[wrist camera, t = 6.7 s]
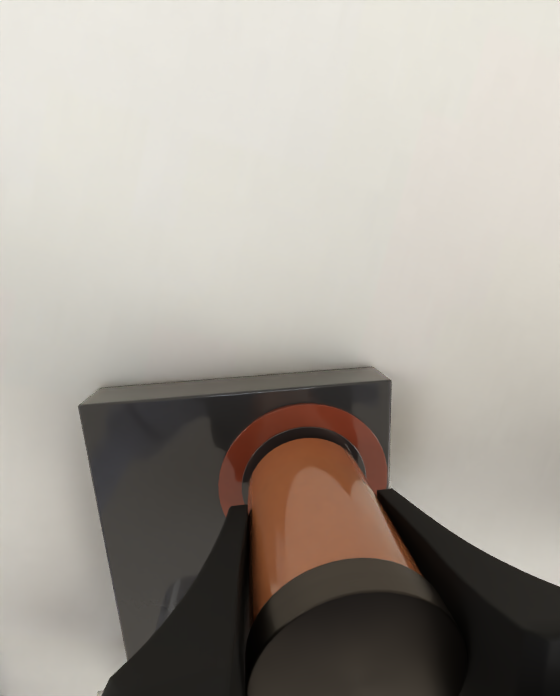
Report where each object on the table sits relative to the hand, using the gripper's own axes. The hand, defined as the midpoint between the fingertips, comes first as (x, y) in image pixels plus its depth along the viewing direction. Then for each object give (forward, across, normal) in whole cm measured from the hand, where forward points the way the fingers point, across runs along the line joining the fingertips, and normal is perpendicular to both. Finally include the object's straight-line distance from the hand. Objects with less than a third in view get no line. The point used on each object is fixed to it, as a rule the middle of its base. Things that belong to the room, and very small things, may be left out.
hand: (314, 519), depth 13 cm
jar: (+2, 0, 0) cm, 2 cm away
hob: (+5, +2, +4) cm, 7 cm away
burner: (+2, 0, 0) cm, 2 cm away
